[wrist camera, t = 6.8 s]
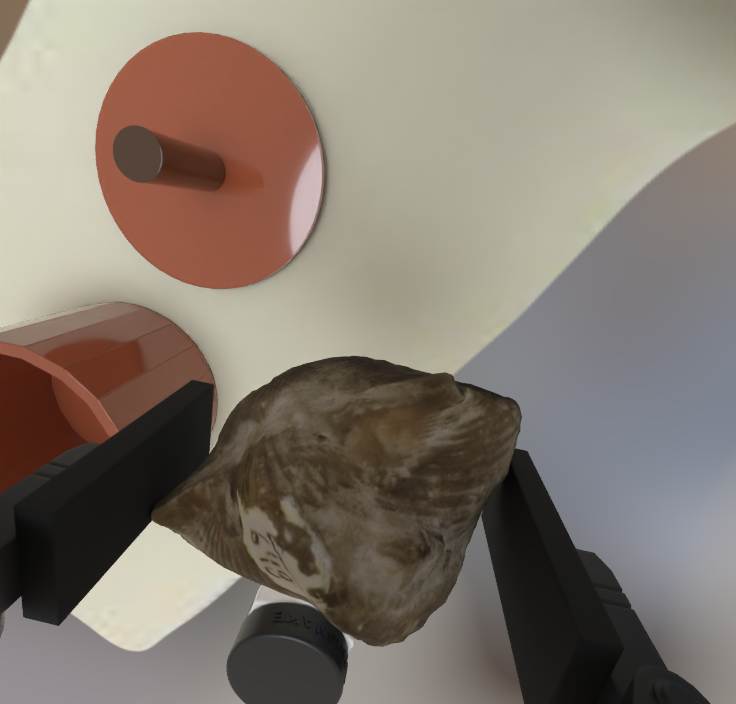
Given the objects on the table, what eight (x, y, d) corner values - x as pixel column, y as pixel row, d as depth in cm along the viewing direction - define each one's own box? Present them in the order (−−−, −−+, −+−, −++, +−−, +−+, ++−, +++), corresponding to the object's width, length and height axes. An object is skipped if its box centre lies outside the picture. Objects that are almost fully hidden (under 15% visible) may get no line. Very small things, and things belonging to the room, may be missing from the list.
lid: (344, 63, 28) (313, -6, 19) (308, 306, 33) (270, 335, 25) (106, 19, 29) (-25, -67, 20) (106, 263, 34) (2, 277, 25)
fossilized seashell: (503, 287, 10) (162, 347, 13) (556, 620, 6) (27, 591, 9) (524, 444, 15) (278, 461, 18) (560, 677, 11) (230, 647, 14)
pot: (224, 324, 34) (135, 372, 23) (210, 485, 39) (130, 587, 28) (43, 284, 35) (-126, 312, 24) (51, 447, 40) (-87, 532, 29)
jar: (384, 564, 40) (371, 703, 28) (317, 599, 42) (280, 741, 30) (325, 494, 38) (287, 611, 27) (259, 534, 40) (197, 658, 29)
